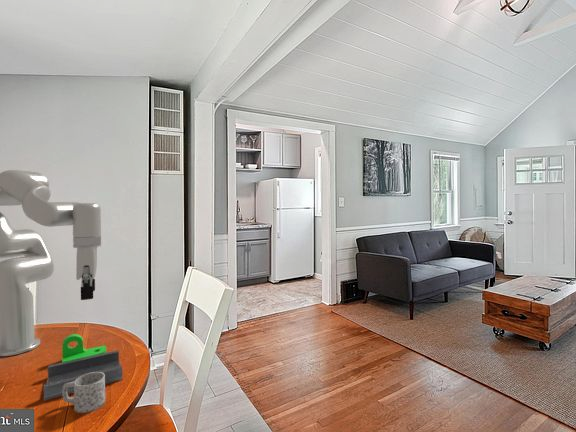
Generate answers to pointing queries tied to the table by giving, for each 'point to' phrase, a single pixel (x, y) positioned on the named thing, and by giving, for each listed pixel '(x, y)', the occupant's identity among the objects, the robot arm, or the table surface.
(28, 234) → the robot arm
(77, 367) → the cradle
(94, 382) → the mug
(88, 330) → the table surface
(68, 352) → the mechanical part
